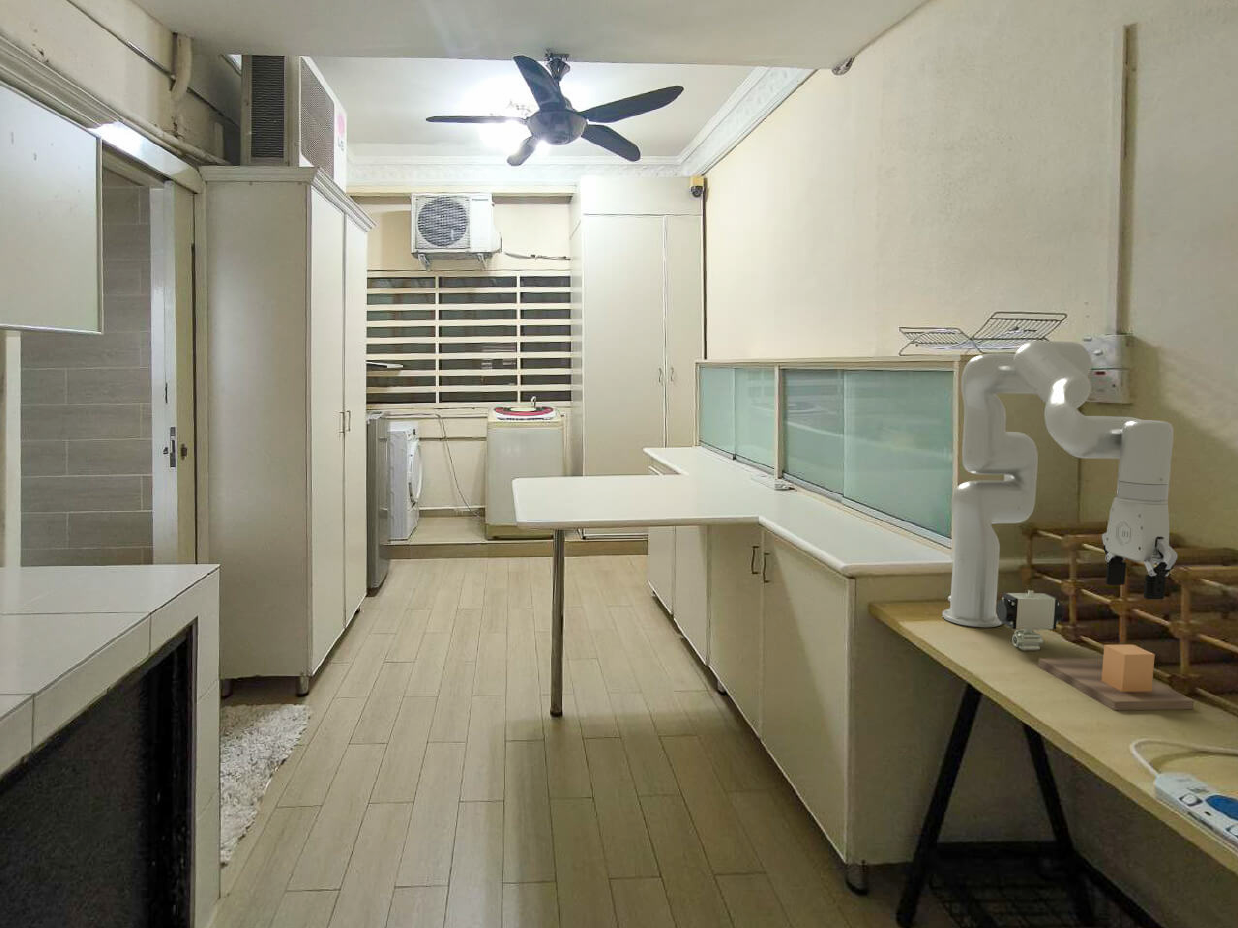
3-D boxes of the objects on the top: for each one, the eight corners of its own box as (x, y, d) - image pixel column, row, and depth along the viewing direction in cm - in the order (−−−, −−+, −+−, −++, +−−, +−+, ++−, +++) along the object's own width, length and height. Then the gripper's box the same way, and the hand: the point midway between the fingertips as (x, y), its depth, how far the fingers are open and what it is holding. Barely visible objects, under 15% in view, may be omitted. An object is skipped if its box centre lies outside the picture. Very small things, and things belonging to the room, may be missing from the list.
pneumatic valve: (1061, 652, 175) (1065, 593, 174) (1004, 652, 174) (1008, 593, 173) (1046, 643, 181) (1050, 586, 179) (991, 643, 180) (994, 586, 179)
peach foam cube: (1101, 680, 154) (1104, 644, 154) (1130, 680, 155) (1133, 644, 154) (1121, 691, 149) (1124, 654, 148) (1151, 691, 149) (1154, 654, 149)
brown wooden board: (1038, 666, 166) (1040, 637, 166) (1107, 665, 168) (1109, 637, 167) (1114, 710, 144) (1117, 678, 144) (1193, 708, 146) (1196, 676, 145)
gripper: (1089, 485, 157) (1081, 579, 158) (1157, 500, 140) (1148, 604, 141) (1128, 486, 157) (1120, 579, 159) (1201, 500, 140) (1191, 604, 142)
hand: (1133, 591), depth 150 cm, fingers open, 9 cm apart
